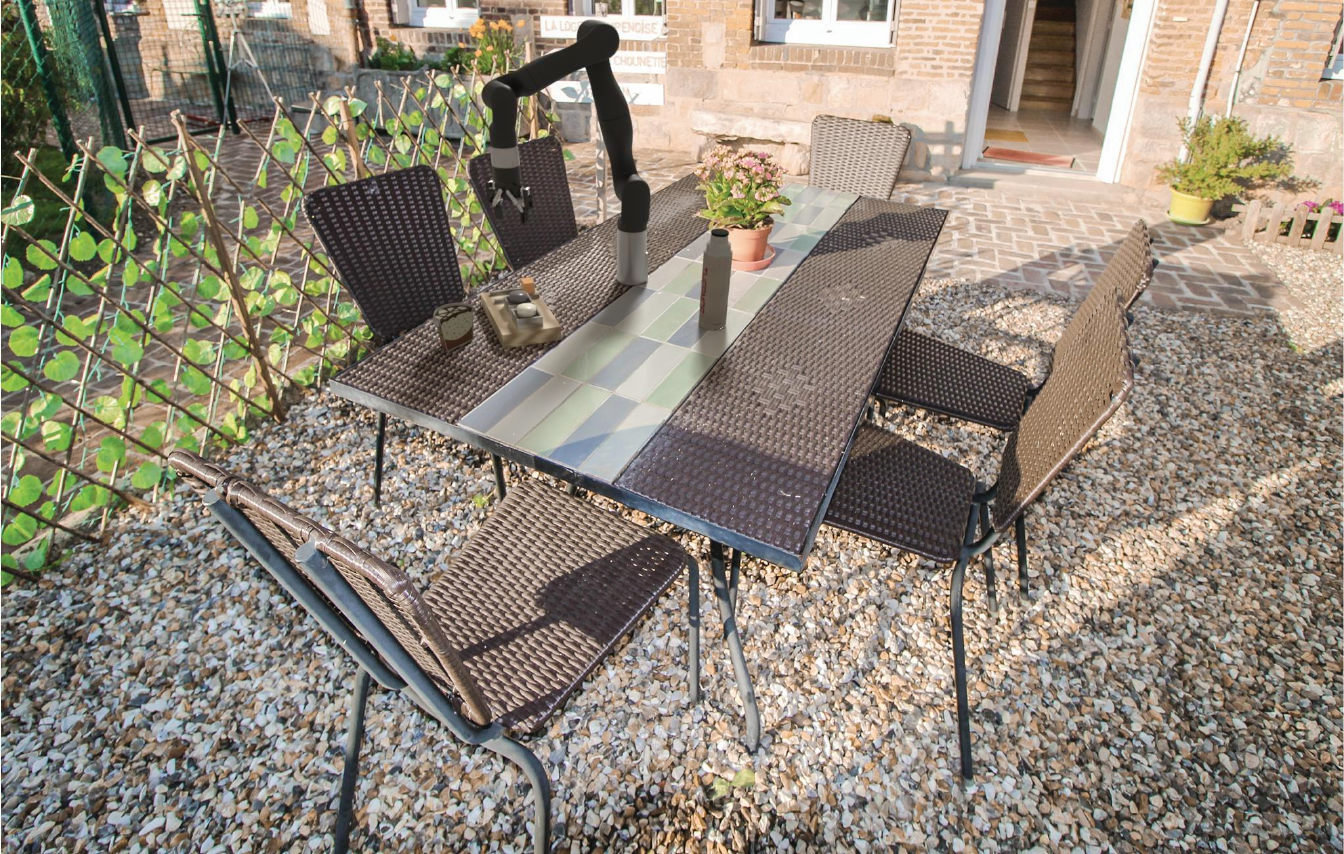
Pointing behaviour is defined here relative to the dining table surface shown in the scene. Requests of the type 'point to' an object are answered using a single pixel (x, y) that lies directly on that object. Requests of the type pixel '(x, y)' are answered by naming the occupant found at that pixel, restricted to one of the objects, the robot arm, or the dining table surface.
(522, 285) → the slider knob
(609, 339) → the dining table surface
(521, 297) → the charcoal button
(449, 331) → the food container
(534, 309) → the cream button
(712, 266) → the thermos bottle
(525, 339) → the board
